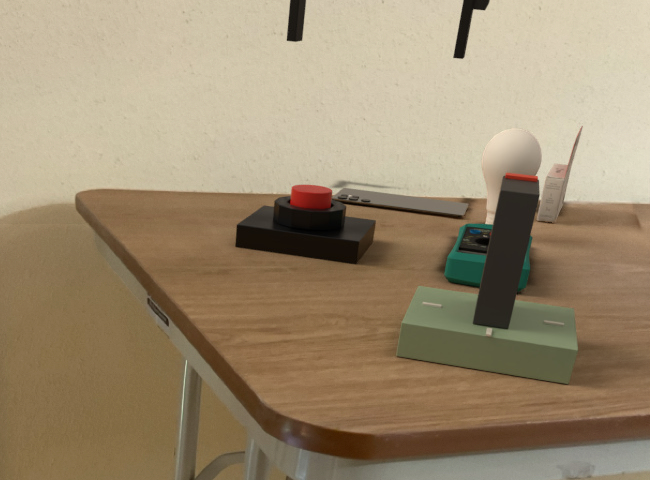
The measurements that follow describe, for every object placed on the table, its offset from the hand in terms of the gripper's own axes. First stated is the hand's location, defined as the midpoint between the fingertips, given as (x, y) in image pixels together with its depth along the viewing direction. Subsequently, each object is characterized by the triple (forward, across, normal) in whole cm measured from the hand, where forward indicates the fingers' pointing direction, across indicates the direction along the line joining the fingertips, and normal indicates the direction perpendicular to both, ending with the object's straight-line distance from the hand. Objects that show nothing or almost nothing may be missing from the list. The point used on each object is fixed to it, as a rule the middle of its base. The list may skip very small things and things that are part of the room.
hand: (375, 49), depth 72 cm
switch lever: (+15, -13, +16) cm, 26 cm away
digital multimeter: (+18, -13, -7) cm, 23 cm away
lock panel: (+18, -13, +16) cm, 27 cm away
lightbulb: (+18, -13, -22) cm, 31 cm away
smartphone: (+18, -1, -33) cm, 38 cm away
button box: (+18, +5, -7) cm, 20 cm away
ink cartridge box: (+18, -20, -39) cm, 47 cm away
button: (+14, +5, -7) cm, 17 cm away
